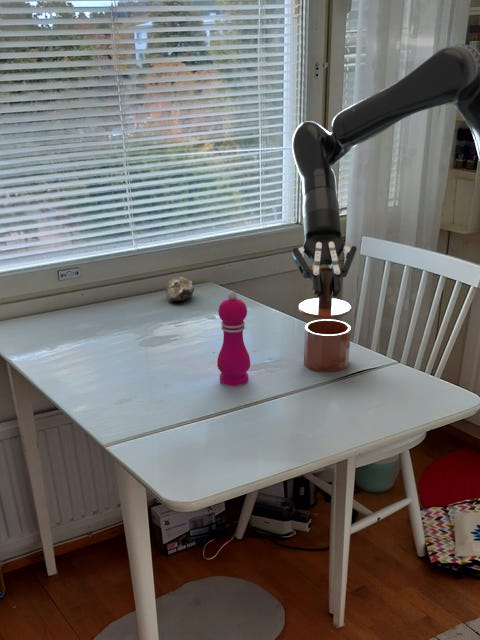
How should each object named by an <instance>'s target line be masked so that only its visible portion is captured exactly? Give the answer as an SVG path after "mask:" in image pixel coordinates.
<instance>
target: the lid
mask: <svg viewBox="0 0 480 640" xmlns="http://www.w3.org/2000/svg"><path fill="white" fill-rule="evenodd" d="M333 274H334V270H333V269H332V268H329V267H322V268H319V276H320V283H321V295H320V297H316V298H315V297H314V298H309V299H305V300H304V301H302V302H300V303H299V304H298V311H299V312H300V313H301V314H303V315H305V316H307V317H312V318H317V319H323V320H328V319H336V318H340V317H344V316H346V315H348V314H350V313H351V311H352V306H351V304H350V303H349V302H347V301H346V300H342V299H338V298H333Z"/></svg>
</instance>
